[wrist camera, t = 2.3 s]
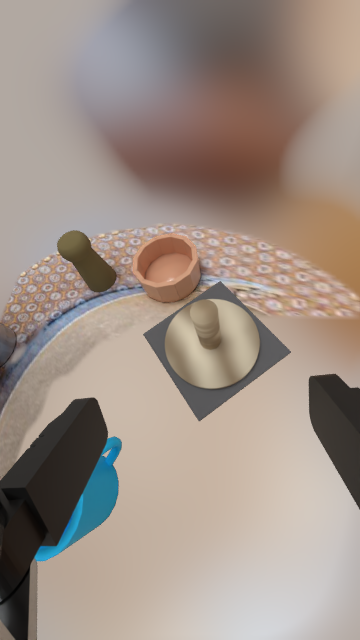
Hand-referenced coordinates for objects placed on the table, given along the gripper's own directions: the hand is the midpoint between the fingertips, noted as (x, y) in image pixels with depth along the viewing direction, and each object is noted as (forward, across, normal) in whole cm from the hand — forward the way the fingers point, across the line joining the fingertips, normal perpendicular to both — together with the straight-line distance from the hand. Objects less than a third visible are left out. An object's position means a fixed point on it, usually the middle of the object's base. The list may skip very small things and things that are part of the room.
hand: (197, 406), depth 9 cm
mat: (+26, 0, +9) cm, 27 cm away
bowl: (+36, +6, -1) cm, 36 cm away
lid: (+26, 0, +9) cm, 27 cm away
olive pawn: (+37, +20, -2) cm, 42 cm away
